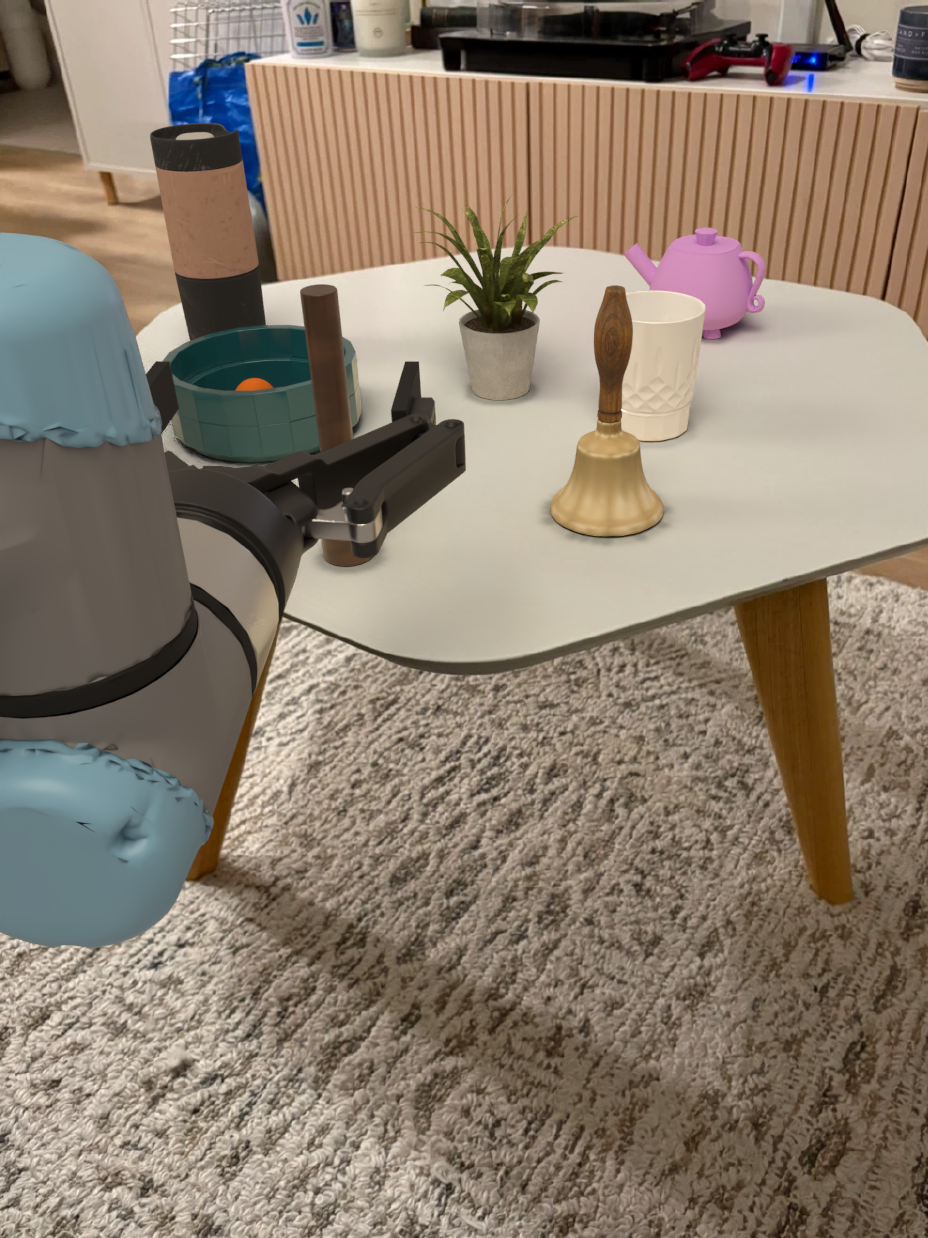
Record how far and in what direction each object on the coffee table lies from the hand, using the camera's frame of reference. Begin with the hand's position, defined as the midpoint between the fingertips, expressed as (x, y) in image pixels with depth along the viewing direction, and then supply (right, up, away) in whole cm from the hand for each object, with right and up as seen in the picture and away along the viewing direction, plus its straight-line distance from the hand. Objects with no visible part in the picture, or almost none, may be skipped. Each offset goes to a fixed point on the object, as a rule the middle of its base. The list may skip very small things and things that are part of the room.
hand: (290, 384), depth 60 cm
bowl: (-8, +5, +33) cm, 35 cm away
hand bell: (+19, -4, +20) cm, 28 cm away
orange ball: (-9, +7, +31) cm, 33 cm away
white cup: (+24, +5, +32) cm, 40 cm away
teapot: (+31, +20, +52) cm, 63 cm away
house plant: (+10, +10, +39) cm, 41 cm away
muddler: (+1, -7, +16) cm, 17 cm away
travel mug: (-15, +15, +46) cm, 51 cm away
